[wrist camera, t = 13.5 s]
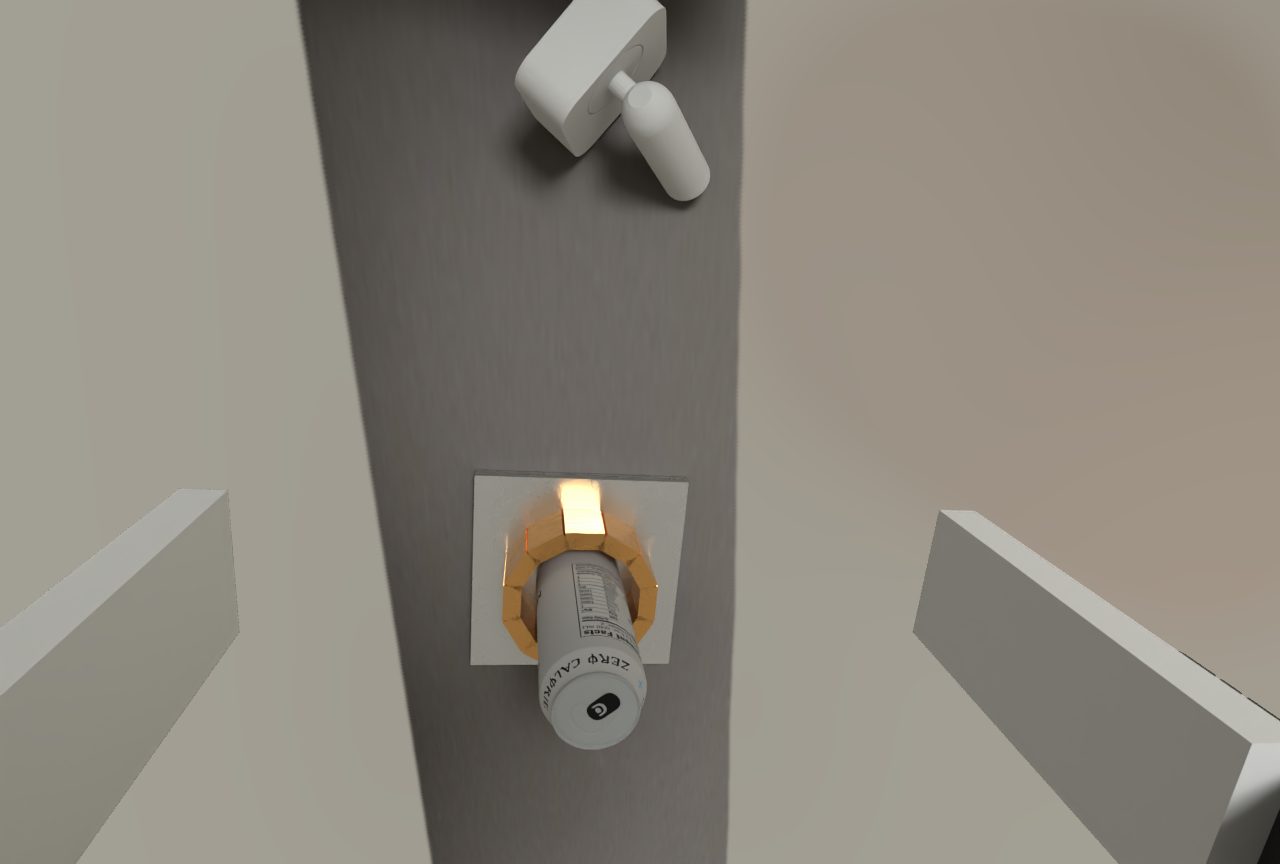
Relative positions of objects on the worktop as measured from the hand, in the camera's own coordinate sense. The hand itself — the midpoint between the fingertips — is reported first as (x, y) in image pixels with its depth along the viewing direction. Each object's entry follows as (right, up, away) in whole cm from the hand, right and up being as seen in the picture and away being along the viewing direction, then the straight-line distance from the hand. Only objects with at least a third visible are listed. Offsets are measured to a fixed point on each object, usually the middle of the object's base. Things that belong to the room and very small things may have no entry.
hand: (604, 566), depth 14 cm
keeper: (-4, -8, +40) cm, 41 cm away
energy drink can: (-4, -8, +39) cm, 40 cm away
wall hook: (0, +22, +32) cm, 39 cm away
